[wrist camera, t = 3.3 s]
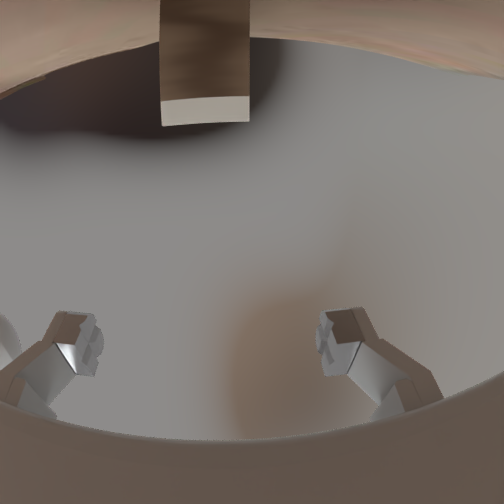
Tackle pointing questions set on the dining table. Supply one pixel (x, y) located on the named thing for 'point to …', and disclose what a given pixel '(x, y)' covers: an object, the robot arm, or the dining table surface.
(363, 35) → the dining table surface
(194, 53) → the walnut block
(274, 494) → the robot arm
